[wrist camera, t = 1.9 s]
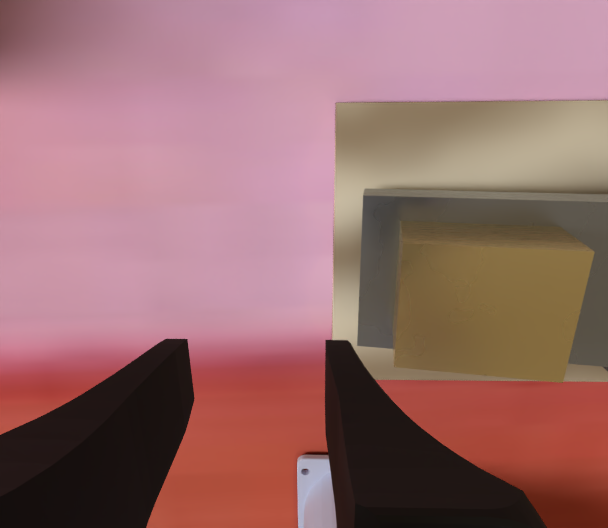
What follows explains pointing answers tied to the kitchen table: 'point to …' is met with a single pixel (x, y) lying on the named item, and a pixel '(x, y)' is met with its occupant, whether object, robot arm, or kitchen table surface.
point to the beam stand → (455, 180)
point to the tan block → (488, 298)
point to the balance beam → (480, 210)
